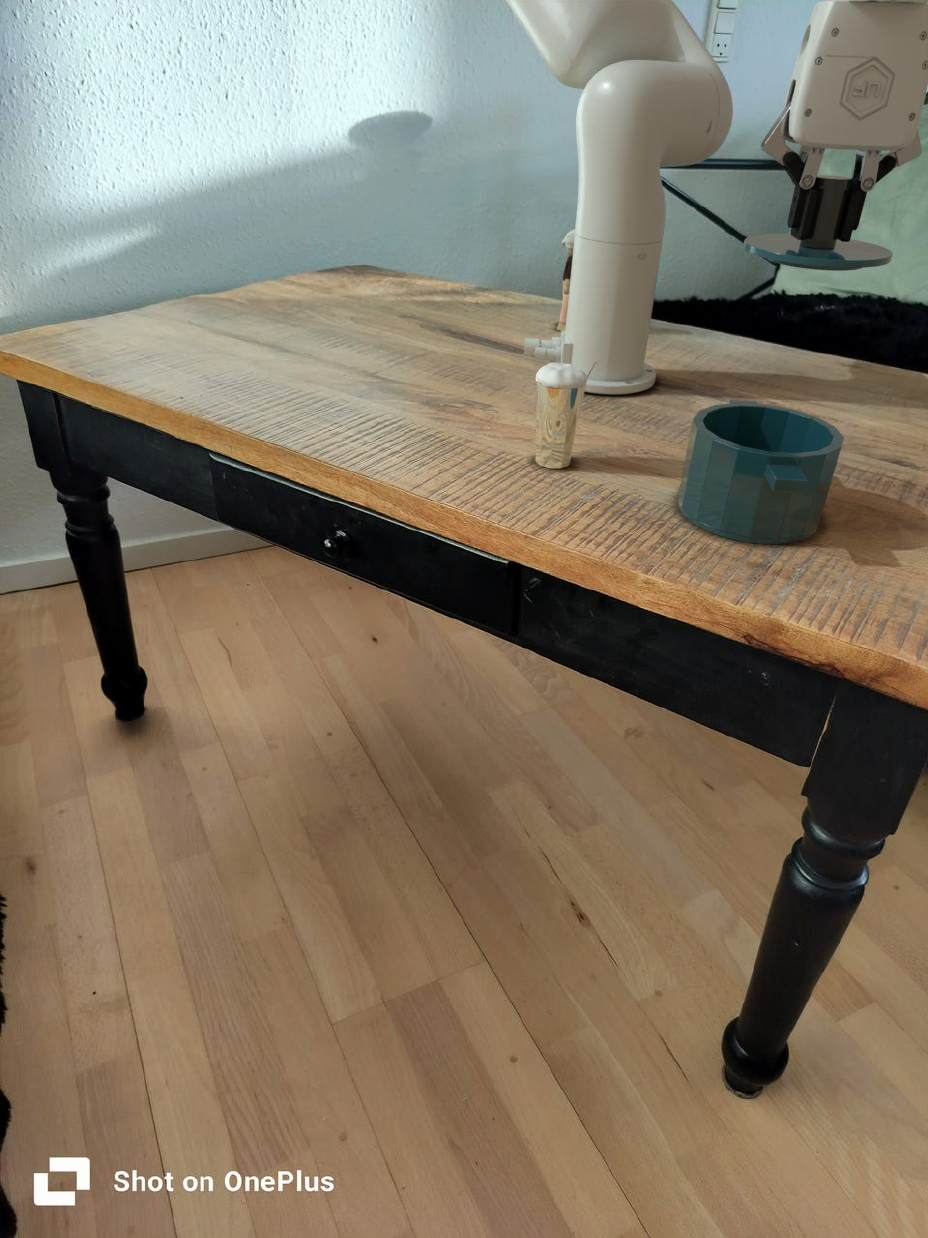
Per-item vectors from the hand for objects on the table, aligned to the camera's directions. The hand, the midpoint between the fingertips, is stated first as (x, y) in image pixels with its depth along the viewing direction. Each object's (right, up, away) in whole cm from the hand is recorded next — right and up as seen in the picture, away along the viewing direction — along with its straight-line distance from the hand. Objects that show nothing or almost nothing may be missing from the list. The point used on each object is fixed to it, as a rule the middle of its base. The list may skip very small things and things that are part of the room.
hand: (819, 236), depth 77 cm
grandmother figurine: (-17, +7, +44) cm, 48 cm away
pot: (-7, -25, -3) cm, 26 cm away
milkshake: (-23, -20, +4) cm, 30 cm away
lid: (0, -1, +1) cm, 1 cm away
